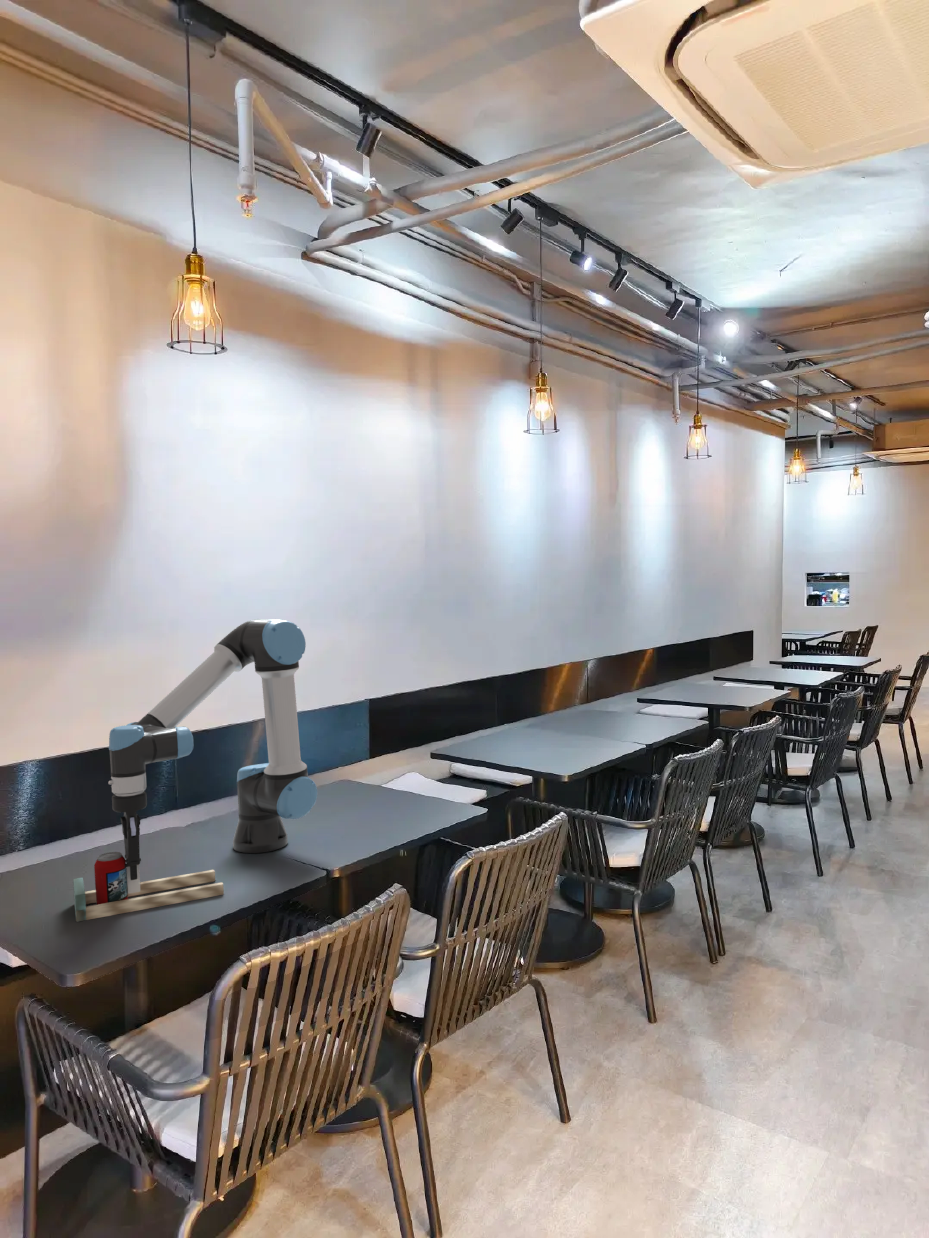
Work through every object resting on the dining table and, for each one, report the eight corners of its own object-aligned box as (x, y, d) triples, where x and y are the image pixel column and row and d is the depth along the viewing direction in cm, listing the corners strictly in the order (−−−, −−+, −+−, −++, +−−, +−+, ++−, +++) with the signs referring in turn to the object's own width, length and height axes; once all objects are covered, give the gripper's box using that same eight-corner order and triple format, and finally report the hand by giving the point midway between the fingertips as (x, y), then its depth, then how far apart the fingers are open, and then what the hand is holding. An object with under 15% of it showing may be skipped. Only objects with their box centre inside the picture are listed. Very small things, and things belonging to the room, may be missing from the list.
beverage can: (119, 912, 189) (116, 860, 188) (91, 912, 190) (87, 860, 189) (133, 900, 196) (130, 850, 195) (106, 900, 196) (103, 850, 196)
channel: (214, 879, 209) (213, 855, 209) (223, 894, 199) (222, 869, 198) (74, 904, 195) (73, 878, 194) (76, 921, 184) (75, 895, 184)
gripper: (109, 788, 198) (114, 886, 199) (114, 800, 186) (119, 903, 187) (142, 784, 201) (147, 880, 202) (149, 795, 190) (154, 897, 191)
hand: (133, 891), depth 195 cm, fingers closed
